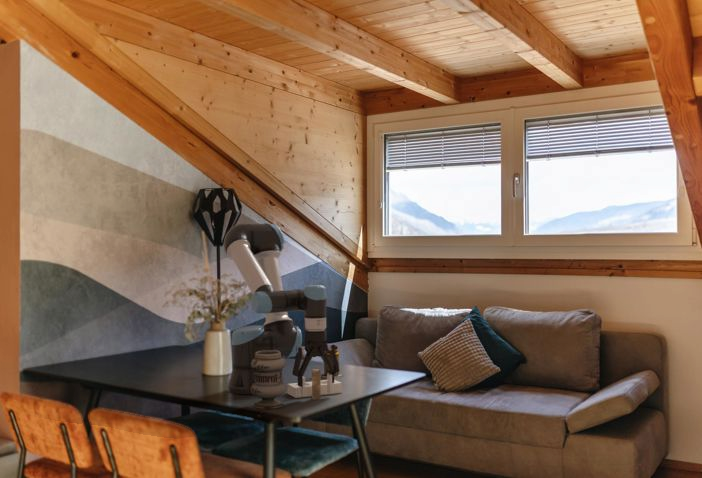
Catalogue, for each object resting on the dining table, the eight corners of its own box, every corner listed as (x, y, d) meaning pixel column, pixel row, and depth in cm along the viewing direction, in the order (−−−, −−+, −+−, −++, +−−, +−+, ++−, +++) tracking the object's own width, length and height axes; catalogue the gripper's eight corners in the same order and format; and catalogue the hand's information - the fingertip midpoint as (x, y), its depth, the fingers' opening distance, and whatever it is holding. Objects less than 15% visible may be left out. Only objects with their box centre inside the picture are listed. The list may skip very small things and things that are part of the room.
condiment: (343, 375, 291) (342, 346, 291) (325, 378, 286) (325, 348, 286) (333, 373, 297) (333, 344, 297) (316, 375, 292) (315, 346, 292)
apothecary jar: (250, 410, 232) (250, 355, 232) (250, 402, 244) (249, 349, 244) (287, 408, 234) (287, 353, 234) (285, 400, 246) (284, 348, 246)
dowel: (314, 400, 246) (313, 371, 246) (310, 398, 249) (310, 369, 249) (322, 399, 248) (321, 370, 248) (318, 397, 250) (318, 369, 250)
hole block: (295, 397, 250) (295, 387, 250) (287, 393, 258) (287, 383, 258) (342, 392, 258) (342, 383, 258) (333, 388, 265) (333, 379, 265)
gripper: (289, 333, 241) (290, 399, 240) (348, 328, 250) (349, 393, 250) (281, 330, 247) (282, 395, 247) (340, 326, 257) (341, 389, 256)
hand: (316, 394), depth 248 cm, fingers open, 9 cm apart
